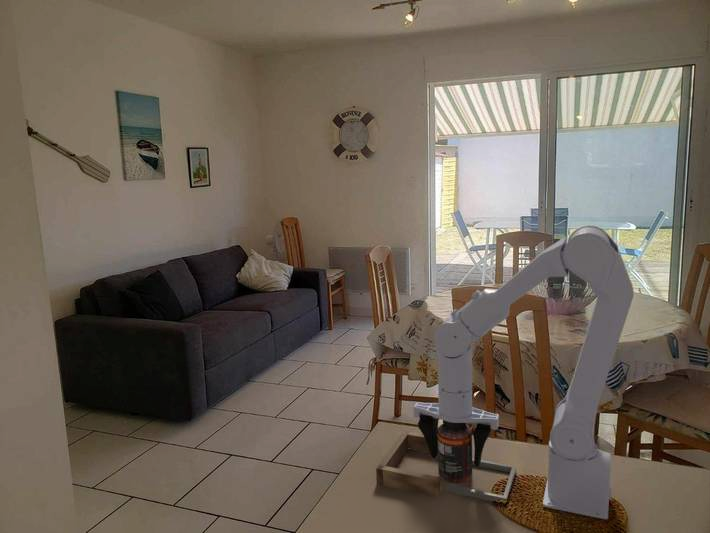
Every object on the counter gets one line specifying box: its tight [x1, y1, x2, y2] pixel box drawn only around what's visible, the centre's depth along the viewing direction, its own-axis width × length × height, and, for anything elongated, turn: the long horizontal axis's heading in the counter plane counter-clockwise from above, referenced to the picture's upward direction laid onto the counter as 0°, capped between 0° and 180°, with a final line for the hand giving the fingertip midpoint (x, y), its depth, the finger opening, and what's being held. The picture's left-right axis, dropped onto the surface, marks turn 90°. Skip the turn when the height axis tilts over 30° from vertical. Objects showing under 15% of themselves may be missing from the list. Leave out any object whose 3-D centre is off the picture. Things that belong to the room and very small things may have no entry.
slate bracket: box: [447, 457, 517, 502], centre depth 96 cm, size 10×10×1 cm
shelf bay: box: [375, 430, 442, 498], centre depth 100 cm, size 11×14×3 cm
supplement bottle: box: [437, 420, 473, 484], centre depth 97 cm, size 6×6×11 cm
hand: (455, 459), depth 97 cm, fingers open, 7 cm apart
